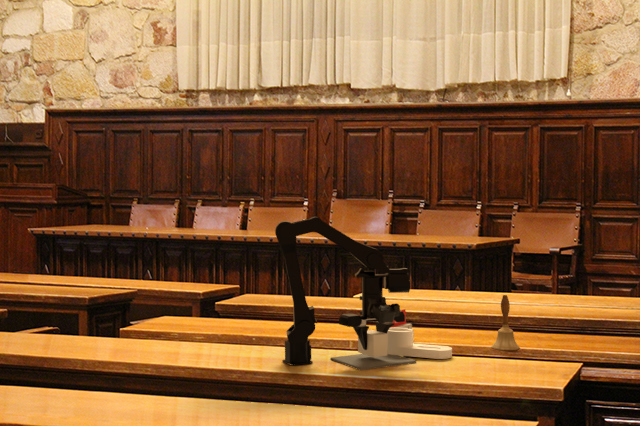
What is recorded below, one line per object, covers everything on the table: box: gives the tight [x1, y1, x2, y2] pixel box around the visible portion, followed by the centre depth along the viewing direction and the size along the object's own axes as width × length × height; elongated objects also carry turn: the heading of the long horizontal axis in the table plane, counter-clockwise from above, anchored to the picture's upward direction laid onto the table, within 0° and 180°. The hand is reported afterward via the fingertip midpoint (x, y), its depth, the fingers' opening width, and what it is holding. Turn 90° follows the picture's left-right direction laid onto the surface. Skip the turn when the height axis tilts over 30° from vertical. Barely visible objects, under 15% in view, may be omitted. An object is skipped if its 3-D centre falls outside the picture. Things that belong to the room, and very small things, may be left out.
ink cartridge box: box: [391, 308, 413, 330], centre depth 256 cm, size 2×11×10 cm, turn 146°
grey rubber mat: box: [330, 353, 417, 371], centre depth 226 cm, size 18×16×1 cm
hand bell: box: [491, 294, 521, 351], centre depth 245 cm, size 8×8×16 cm
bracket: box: [387, 328, 453, 360], centre depth 234 cm, size 20×9×7 cm, turn 71°
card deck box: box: [357, 329, 387, 357], centre depth 226 cm, size 8×4×6 cm, turn 29°
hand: (372, 349), depth 226 cm, fingers closed on card deck box, 4 cm apart
